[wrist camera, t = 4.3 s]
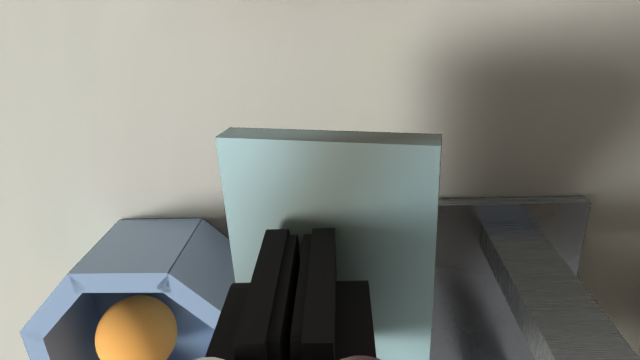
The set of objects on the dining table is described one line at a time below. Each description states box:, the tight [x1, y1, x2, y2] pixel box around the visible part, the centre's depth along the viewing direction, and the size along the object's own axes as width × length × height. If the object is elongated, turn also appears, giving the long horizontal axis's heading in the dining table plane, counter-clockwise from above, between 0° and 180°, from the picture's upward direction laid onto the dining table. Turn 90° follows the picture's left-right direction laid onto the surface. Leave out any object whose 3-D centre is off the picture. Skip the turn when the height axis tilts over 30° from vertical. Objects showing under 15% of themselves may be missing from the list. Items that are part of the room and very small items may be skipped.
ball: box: [95, 295, 177, 360], centre depth 20 cm, size 3×3×3 cm
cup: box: [20, 218, 235, 360], centre depth 20 cm, size 9×9×4 cm
